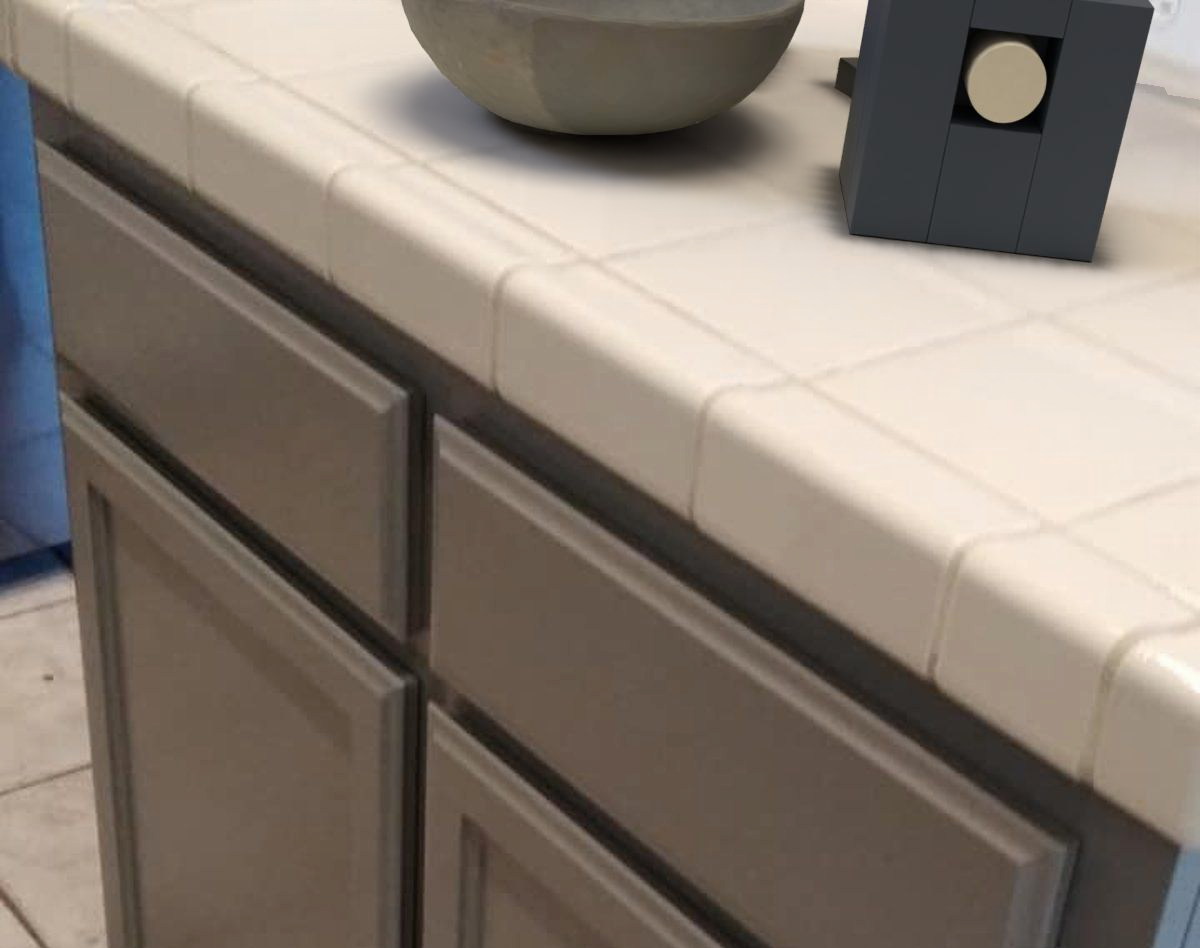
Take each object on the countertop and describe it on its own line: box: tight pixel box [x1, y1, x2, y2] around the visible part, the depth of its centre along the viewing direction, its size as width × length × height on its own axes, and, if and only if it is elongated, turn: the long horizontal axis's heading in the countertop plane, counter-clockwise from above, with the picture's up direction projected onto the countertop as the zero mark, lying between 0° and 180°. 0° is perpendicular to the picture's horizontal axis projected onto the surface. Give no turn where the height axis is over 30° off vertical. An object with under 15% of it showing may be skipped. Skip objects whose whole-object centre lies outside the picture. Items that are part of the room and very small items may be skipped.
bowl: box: [400, 0, 806, 136], centre depth 108 cm, size 21×21×8 cm
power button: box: [960, 29, 1046, 123], centre depth 96 cm, size 4×4×4 cm
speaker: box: [838, 0, 1156, 262], centre depth 100 cm, size 10×12×13 cm
